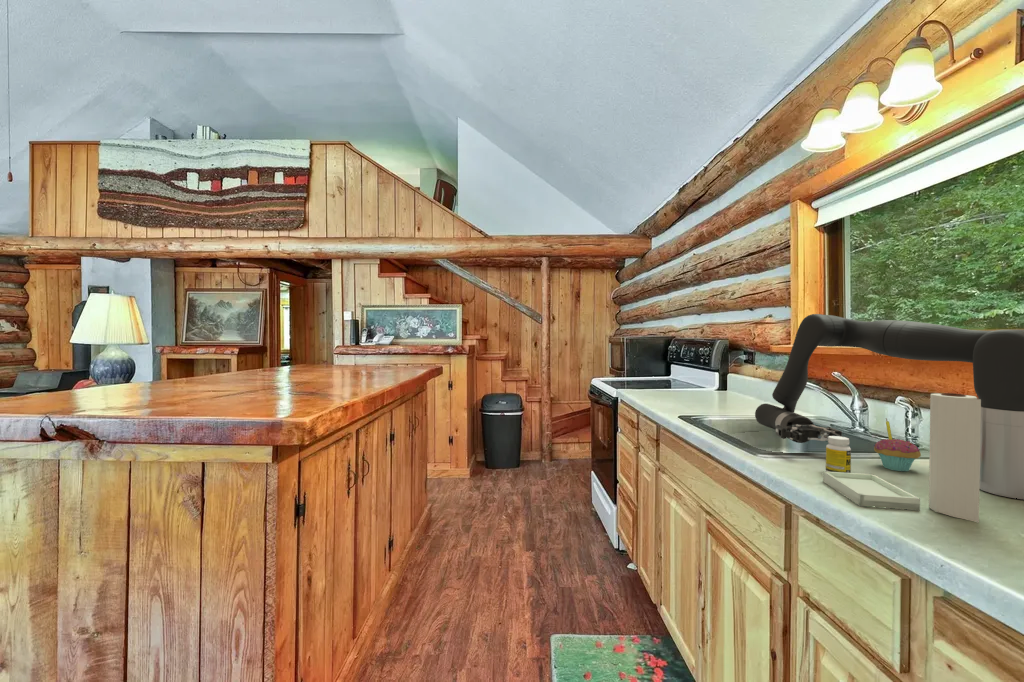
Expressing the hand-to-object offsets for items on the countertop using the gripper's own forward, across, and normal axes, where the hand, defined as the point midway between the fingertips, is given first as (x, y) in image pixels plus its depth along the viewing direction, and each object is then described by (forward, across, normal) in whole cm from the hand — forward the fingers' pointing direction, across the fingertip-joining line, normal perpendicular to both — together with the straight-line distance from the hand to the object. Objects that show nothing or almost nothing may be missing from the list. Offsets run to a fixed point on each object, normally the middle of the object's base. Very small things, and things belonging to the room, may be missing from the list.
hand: (819, 438), depth 115 cm
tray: (+24, -1, +6) cm, 25 cm away
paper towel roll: (+32, +8, +6) cm, 33 cm away
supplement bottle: (+10, 0, +6) cm, 11 cm away
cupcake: (+2, +16, +6) cm, 17 cm away
